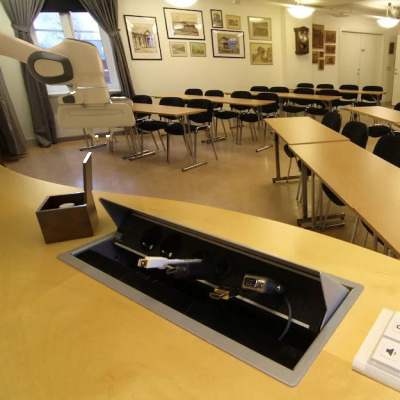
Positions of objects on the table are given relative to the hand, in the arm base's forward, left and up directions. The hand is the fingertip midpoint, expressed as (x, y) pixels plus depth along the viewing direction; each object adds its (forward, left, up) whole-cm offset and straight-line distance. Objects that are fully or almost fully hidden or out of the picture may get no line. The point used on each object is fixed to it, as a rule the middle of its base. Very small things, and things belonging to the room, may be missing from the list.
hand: (103, 141), depth 104 cm
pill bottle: (-14, 0, -28) cm, 32 cm away
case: (-14, 0, -29) cm, 32 cm away
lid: (-7, 0, -11) cm, 13 cm away
